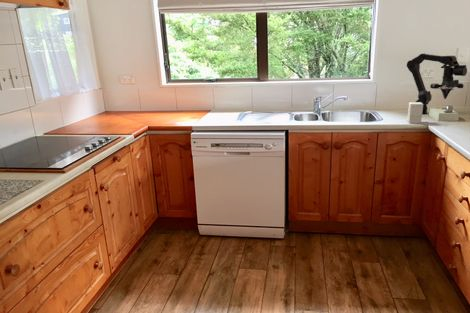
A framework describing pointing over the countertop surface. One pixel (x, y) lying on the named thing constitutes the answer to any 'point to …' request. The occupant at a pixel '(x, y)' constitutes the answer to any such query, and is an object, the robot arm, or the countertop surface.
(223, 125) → the countertop surface
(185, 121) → the countertop surface
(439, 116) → the socket block
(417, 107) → the supplement box
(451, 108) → the steel peg
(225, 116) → the countertop surface
